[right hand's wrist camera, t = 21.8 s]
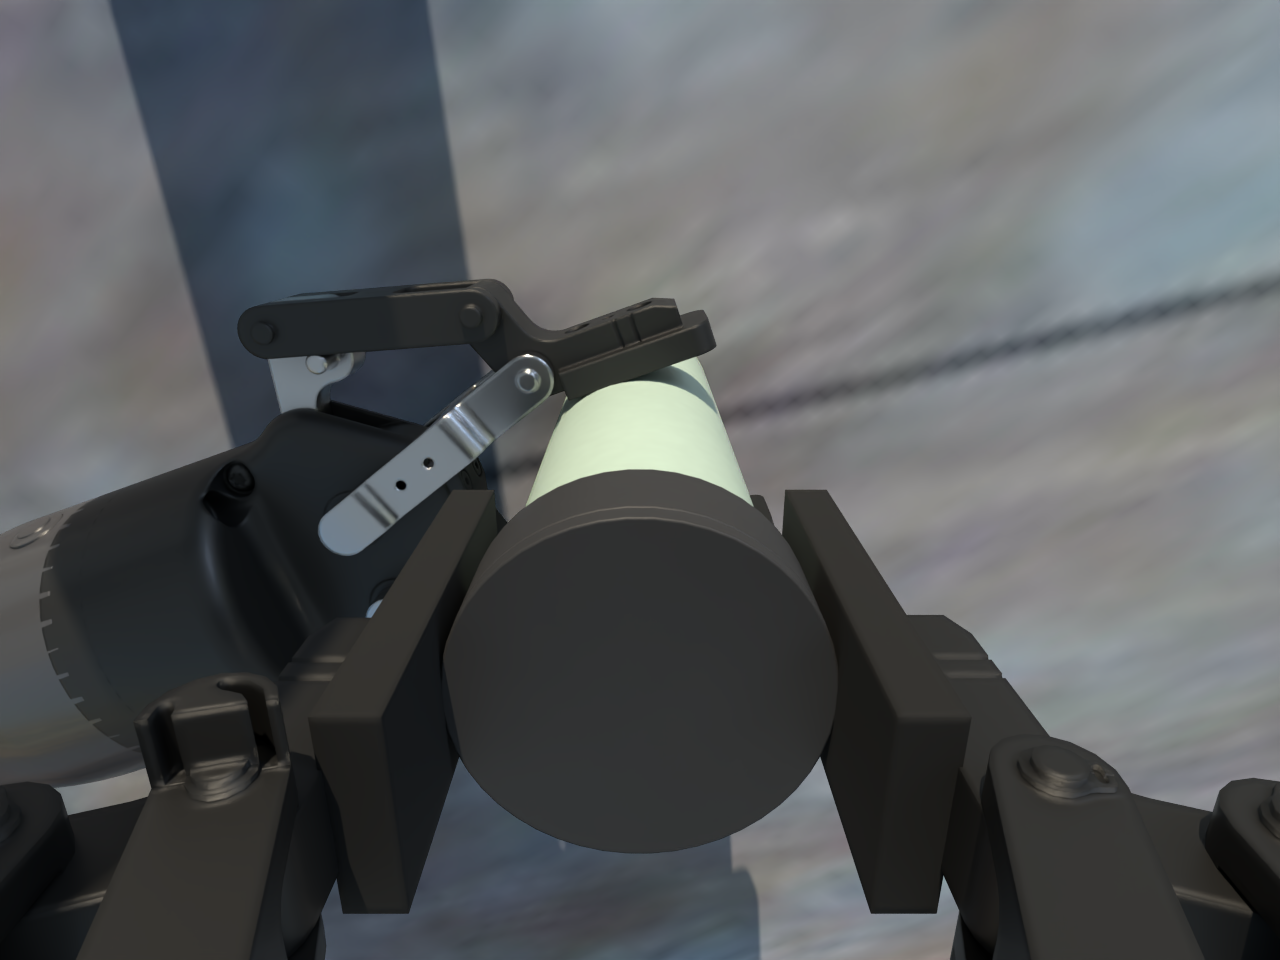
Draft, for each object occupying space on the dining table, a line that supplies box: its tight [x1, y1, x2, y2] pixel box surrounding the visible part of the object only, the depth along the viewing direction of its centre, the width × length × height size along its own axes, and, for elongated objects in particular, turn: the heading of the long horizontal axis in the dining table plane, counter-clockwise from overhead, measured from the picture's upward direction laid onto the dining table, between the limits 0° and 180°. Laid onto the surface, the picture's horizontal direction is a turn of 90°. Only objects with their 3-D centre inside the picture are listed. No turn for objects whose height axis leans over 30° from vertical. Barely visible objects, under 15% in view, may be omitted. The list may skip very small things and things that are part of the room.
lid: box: [441, 469, 838, 853], centre depth 11 cm, size 5×5×2 cm
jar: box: [525, 357, 754, 507], centre depth 19 cm, size 5×5×16 cm
